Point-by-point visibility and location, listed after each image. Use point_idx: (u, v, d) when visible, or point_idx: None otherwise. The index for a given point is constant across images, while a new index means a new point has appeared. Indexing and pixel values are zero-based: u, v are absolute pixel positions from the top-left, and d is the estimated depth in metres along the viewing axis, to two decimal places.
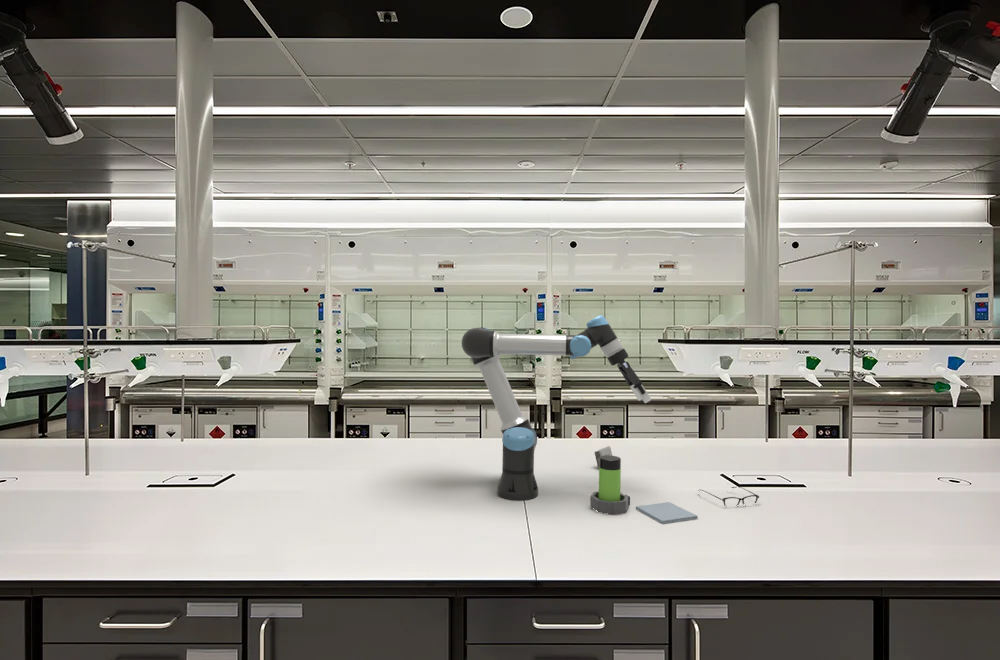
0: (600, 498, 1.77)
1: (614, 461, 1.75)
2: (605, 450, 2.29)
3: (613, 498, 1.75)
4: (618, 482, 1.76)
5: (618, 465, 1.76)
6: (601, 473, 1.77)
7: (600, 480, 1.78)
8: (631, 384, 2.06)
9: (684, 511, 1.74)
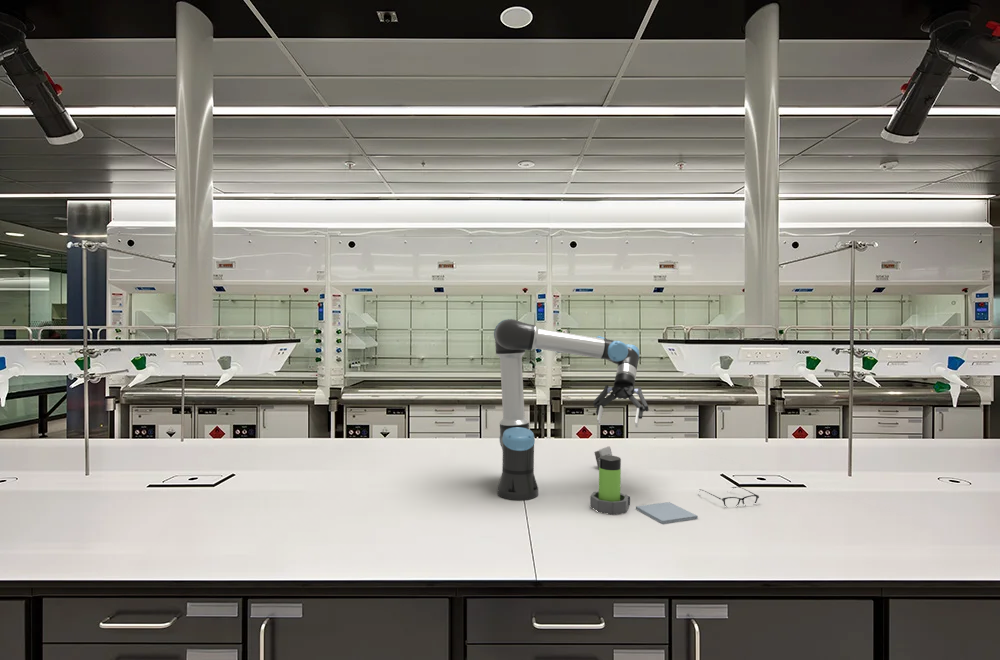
0: (600, 498, 1.77)
1: (614, 461, 1.75)
2: (605, 450, 2.29)
3: (613, 498, 1.75)
4: (618, 482, 1.76)
5: (618, 465, 1.76)
6: (601, 473, 1.77)
7: (600, 480, 1.78)
8: (600, 406, 1.95)
9: (684, 511, 1.74)
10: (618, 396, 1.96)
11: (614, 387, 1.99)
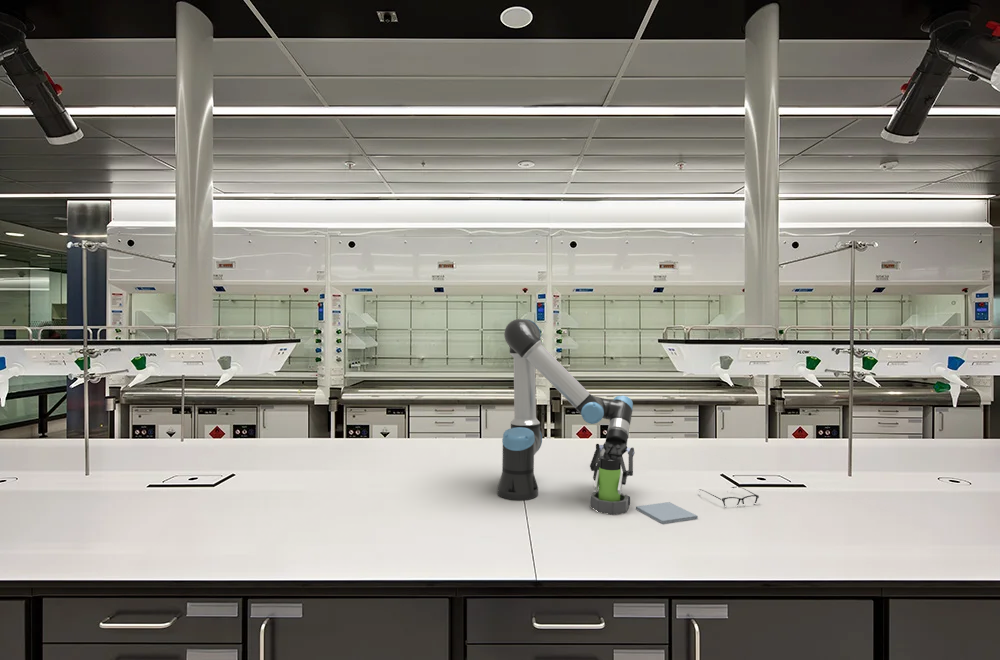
0: (600, 498, 1.77)
1: (614, 461, 1.75)
2: None
3: (613, 498, 1.75)
4: (618, 482, 1.76)
5: (618, 465, 1.76)
6: (601, 473, 1.77)
7: (600, 480, 1.78)
8: (598, 470, 1.82)
9: (684, 511, 1.74)
10: (610, 454, 1.85)
11: (605, 444, 1.87)
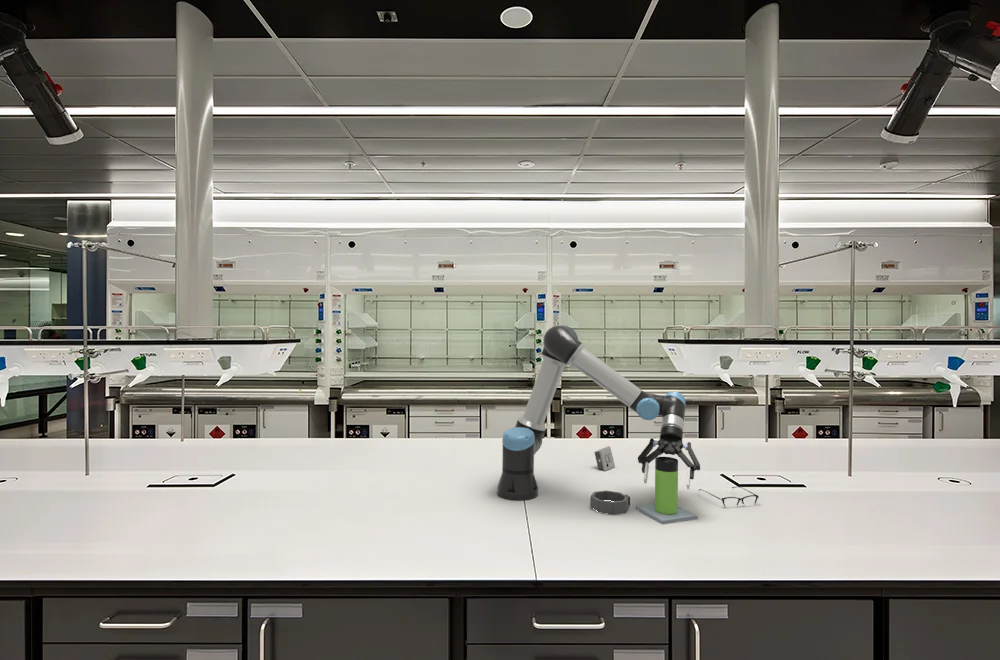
0: (657, 501, 1.73)
1: (672, 462, 1.70)
2: (605, 450, 2.29)
3: (671, 501, 1.70)
4: (676, 484, 1.71)
5: (676, 467, 1.71)
6: (658, 475, 1.72)
7: (657, 482, 1.73)
8: None
9: (684, 511, 1.74)
10: (665, 451, 1.80)
11: (660, 441, 1.83)
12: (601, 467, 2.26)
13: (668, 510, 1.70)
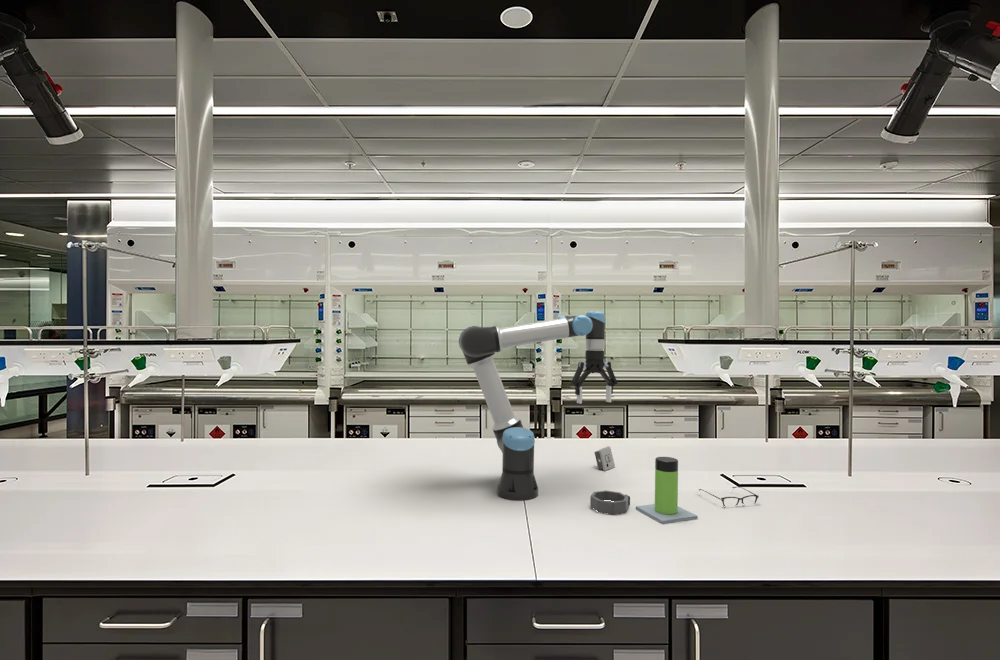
0: (657, 501, 1.73)
1: (672, 462, 1.70)
2: (605, 450, 2.29)
3: (671, 501, 1.70)
4: (676, 484, 1.71)
5: (676, 467, 1.71)
6: (658, 475, 1.72)
7: (657, 482, 1.73)
8: None
9: (684, 511, 1.74)
10: (592, 372, 2.09)
11: (589, 364, 2.07)
12: (601, 467, 2.26)
13: (668, 510, 1.70)
